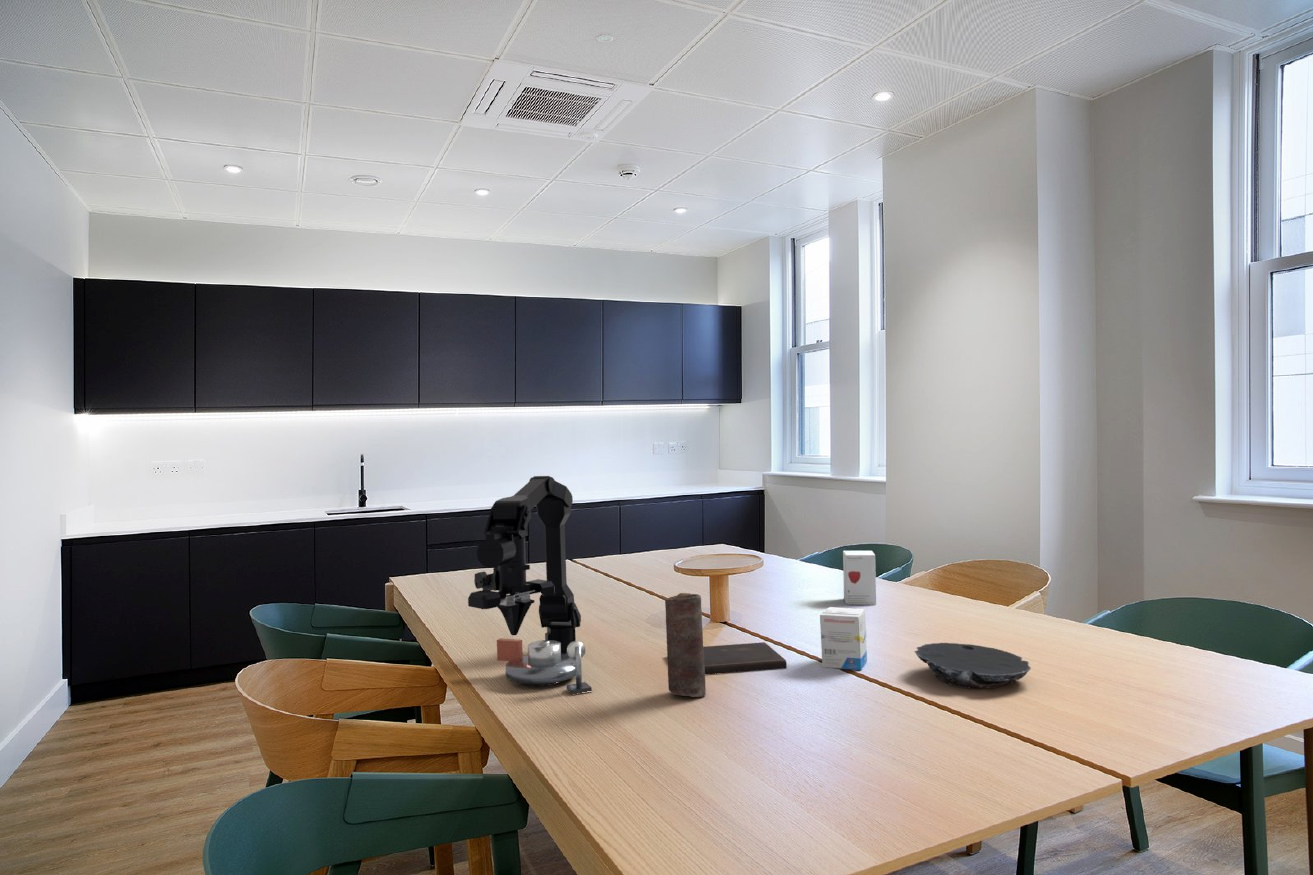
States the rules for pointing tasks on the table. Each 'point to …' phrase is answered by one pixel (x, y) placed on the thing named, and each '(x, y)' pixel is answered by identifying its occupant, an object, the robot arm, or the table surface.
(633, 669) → the table surface
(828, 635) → the ink box
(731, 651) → the hardcover book
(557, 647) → the cover
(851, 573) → the supplement box
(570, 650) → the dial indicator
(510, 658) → the turntable
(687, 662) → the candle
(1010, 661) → the dark grey flat disc
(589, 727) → the table surface
